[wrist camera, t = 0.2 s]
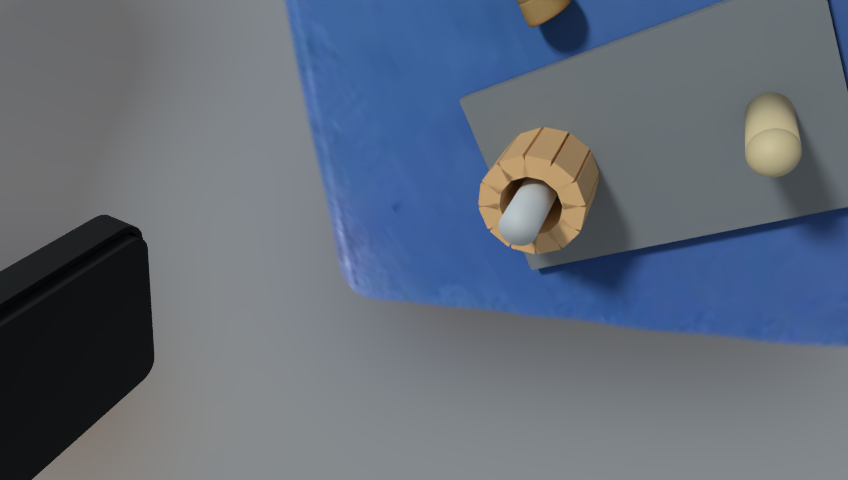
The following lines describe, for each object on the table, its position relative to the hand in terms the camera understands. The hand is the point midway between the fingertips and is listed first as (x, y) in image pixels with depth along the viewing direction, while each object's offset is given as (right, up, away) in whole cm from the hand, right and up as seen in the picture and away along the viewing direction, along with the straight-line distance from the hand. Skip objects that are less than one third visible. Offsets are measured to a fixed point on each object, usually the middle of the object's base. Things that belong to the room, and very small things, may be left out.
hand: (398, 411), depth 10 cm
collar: (+9, +7, +36) cm, 38 cm away
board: (+15, +9, +34) cm, 38 cm away
